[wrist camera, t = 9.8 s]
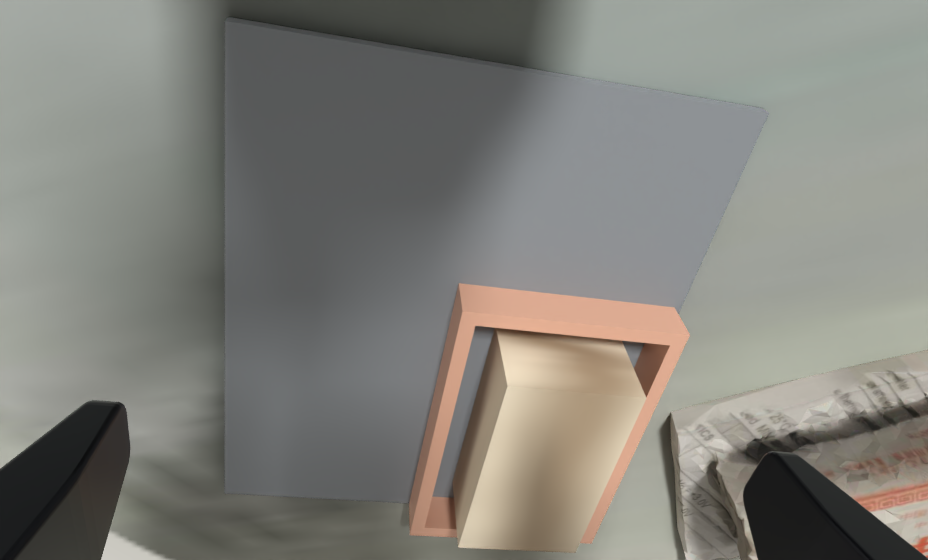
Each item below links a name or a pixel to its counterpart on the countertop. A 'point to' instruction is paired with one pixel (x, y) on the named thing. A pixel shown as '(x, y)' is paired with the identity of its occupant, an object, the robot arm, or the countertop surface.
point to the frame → (546, 316)
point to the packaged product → (807, 450)
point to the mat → (429, 235)
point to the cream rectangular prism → (543, 439)
